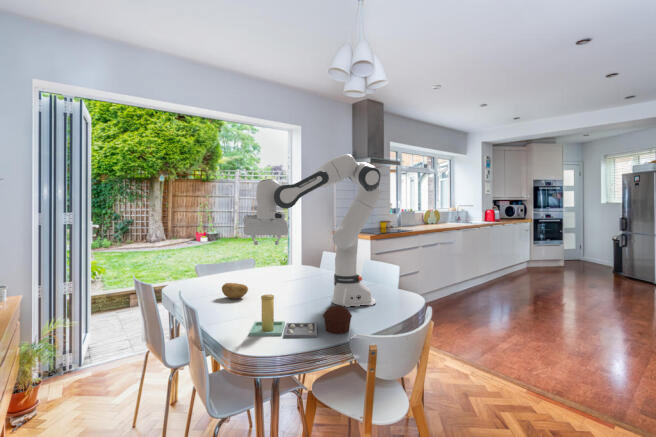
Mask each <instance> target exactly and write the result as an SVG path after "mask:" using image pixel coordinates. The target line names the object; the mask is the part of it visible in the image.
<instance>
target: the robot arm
mask: <svg viewBox="0 0 656 437" xmlns="http://www.w3.org/2000/svg"><path fill="white" fill-rule="evenodd" d="M348 178H349V179H350V180H351V181H352V182H353V183H355V184H357V185H358V191H357V193H356V195H355V197H354V198H353V201H352V202H351V204H350V206H349V208H348V210H346V212H345V215H344V216H343V217H342V219H341V220H340V222H339V224H338V225H337V227H336V229H335V230H334V231H333V234H332V242H333V244H334V246H335V247H336V251H335V258H334V274H333V294H332V298H331V303H333V304H335V305H340V306H343V307H344V306H345V308H351V307H350V306H355V307H361V306H360V305H369V306H372V305H371V304H375V303H377V301H376V299H375V297H373V296H372V292H371V290H370V288H369V287H368V286H366V285H365V284H364V283H363V282H361V281H363V277H362V276H361V275H359V274H358V273H357V260H358V259H357V258H358V257H357V255H358V247H359V246H358V245H359V235H360V234H361V231H362V230H363V228H364V227H365V225H366V224H367V222H368V220H369V218H370V216H371V215H372V213H373V212H374V210H375V207H376V206H377V204H378V201H379V199H380V196H381V193H382V192H381V191H382V189H381V187H380V181H381V172H380V170H379V168H377V167H376V166H375V165H373V164H370V163H367V162H363V161H359V160H356V159H355V157H354V156H352V154H349V153H345V154H342V155H338V156H336V157H334V158H331V159H330V160H328V161H326V162H324V163H323V164H321V165H320V166H319V167H318V168H317V169H315V171H314V172H313V173H312V174H311V175H309V176H307V177H306V178H305V177H304V178H303V179H300V181H298V182H296V183H295V182H294V183H293V184H281V183H280V182H278V181H276V180H275V179H273V178H266V179H262V180H260V181H259V182H258V183H257V185H256V193H255V194H256V197H255V198H256V202H257V204H256V207H255V208H256V209H255V210H256V214H246V215H245V216H243V225H244V226H243V235H245V236H251V239H252V241H253V245H254V246H258V245H259V241H258V240H256V236H277V240H275V241H274V246H279V241H280V240H281V238H282V236H288V234H289V224H288V220H287V219H286V218H287V215H286V213H283V212H281V211H277V207H279V208H281V209H290V208H293V207H294V206H295V205H296V204H297V202H299V200H300V199H301V198H302V197H304V196H305V195H308V194H309V193H311V192H313V191H314V190H317V189H319V188H327V187H330V186H331V187H332V186H333V185H336V184H338V183H340V182H342V181H343V180H345V179H348ZM375 305H376V304H375Z"/></svg>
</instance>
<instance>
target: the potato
mask: <svg viewBox="0 0 656 437" xmlns="http://www.w3.org/2000/svg"><path fill="white" fill-rule="evenodd" d="M221 292H222V293H223V295H224V296H225V297H227V298H229V299H232V300H235V299H240V298H243V297H244V296H245V295H247V293H248V292H249V287H248V286H247V285H245V284H242V283H236V282H234V283H233V282H226V283H224V284H223V285H222V286H221Z"/></svg>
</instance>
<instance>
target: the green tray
mask: <svg viewBox="0 0 656 437" xmlns="http://www.w3.org/2000/svg"><path fill="white" fill-rule="evenodd" d="M285 325H286V323H285V320H283V321H282V320H279V321H278V320H277V321H275V320H274V330H272V331H269V332H264V331H262V321H254V322H253V325H252V327H251V329H250V330H249V332H248V337H261V336H262V337H263V336H264V337H266V336H269V337H270V336H272V337H273V336H274V337H275V336H278V337H279V336H283V333H284V329H285V328H284V327H285Z"/></svg>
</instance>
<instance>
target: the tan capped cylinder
mask: <svg viewBox="0 0 656 437" xmlns="http://www.w3.org/2000/svg"><path fill="white" fill-rule="evenodd" d="M260 299H261V322H262V331H264V332H269V331H272V330H274V321H275V318H274V317H275V312H274V311H275V310H274V309H275V308H274V300H275V295H273V294H263V295H261V297H260Z"/></svg>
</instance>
